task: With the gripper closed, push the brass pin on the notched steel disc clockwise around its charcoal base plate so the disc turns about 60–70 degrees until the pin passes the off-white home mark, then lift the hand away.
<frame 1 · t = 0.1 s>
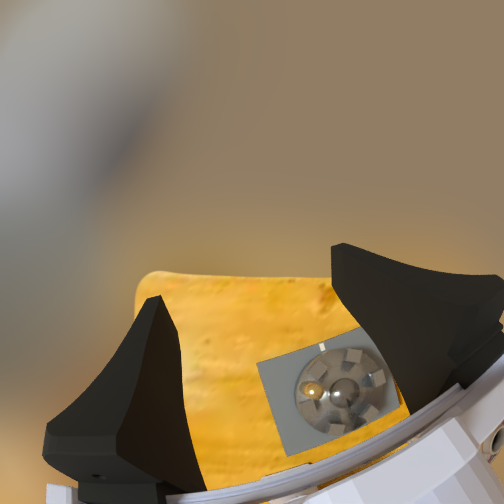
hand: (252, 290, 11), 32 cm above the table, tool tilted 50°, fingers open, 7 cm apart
notched steel disc: (345, 393, 33), point 6 cm above the table, hinge at 0.0°
decorative jar: (432, 426, 36), on the table
base plate: (332, 389, 39), on the table
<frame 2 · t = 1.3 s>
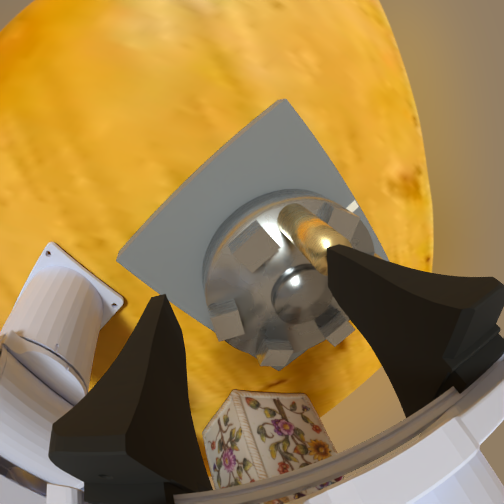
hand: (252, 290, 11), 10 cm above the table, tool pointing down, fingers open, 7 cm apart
notched steel disc: (306, 299, 19), point 6 cm above the table, hinge at 0.0°
decorative jar: (253, 412, 34), on the table
base plate: (277, 260, 24), on the table
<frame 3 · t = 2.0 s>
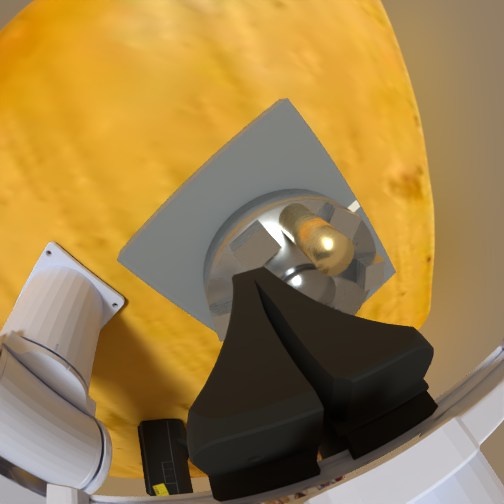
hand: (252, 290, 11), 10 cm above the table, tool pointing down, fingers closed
portable radio: (163, 427, 31), on the table
notched steel disc: (307, 299, 19), point 6 cm above the table, hinge at 0.0°
decorative jar: (253, 412, 34), on the table
base plate: (279, 260, 23), on the table
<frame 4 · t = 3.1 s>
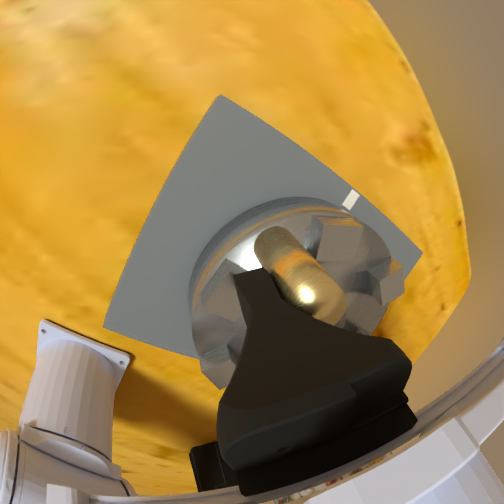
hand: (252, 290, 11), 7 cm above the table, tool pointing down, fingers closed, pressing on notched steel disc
portable radio: (214, 448, 31), on the table
notched steel disc: (311, 331, 15), point 6 cm above the table, hinge at 4.2°, touching gripper
decorative jar: (302, 418, 32), on the table
base plate: (279, 278, 20), on the table
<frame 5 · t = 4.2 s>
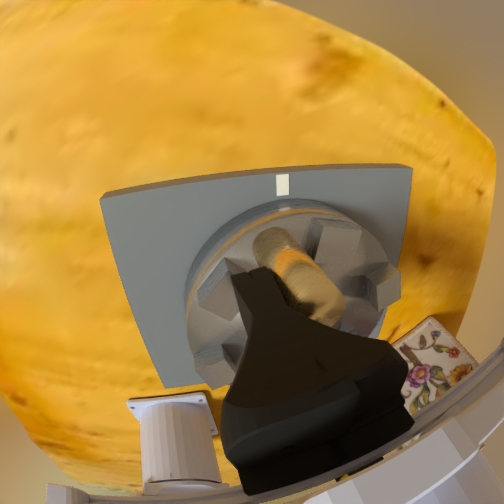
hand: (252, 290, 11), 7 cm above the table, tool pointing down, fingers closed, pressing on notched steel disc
notched steel disc: (307, 334, 15), point 6 cm above the table, hinge at 42.7°, touching gripper
decorative jar: (396, 360, 31), on the table
base plate: (276, 280, 20), on the table
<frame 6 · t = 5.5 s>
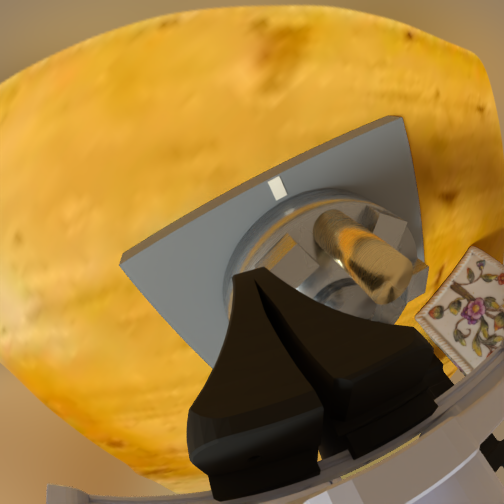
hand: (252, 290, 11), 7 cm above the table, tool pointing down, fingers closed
portable radio: (407, 368, 34), on the table
notched steel disc: (346, 318, 15), point 6 cm above the table, hinge at 70.8°
decorative jar: (452, 297, 29), on the table
base plate: (307, 270, 20), on the table
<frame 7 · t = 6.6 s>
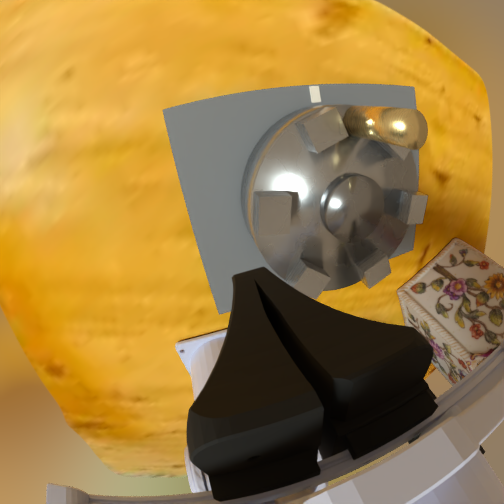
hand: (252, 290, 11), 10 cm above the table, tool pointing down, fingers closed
notched steel disc: (357, 210, 16), point 6 cm above the table, hinge at 70.8°
decorative jar: (430, 287, 32), on the table
base plate: (317, 187, 21), on the table
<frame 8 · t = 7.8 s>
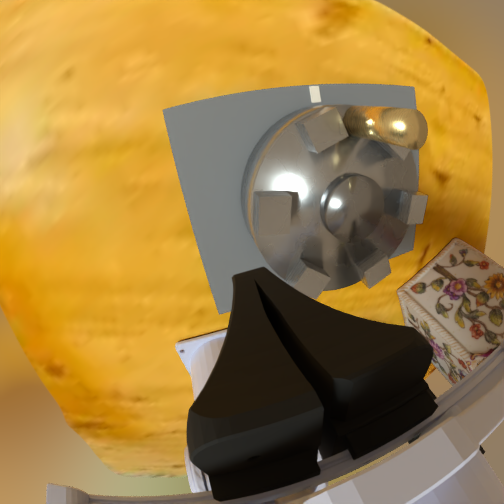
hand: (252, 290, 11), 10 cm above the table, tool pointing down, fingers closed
notched steel disc: (357, 210, 16), point 6 cm above the table, hinge at 70.8°
decorative jar: (430, 287, 32), on the table
base plate: (317, 187, 21), on the table
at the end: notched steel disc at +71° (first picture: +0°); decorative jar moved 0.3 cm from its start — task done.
